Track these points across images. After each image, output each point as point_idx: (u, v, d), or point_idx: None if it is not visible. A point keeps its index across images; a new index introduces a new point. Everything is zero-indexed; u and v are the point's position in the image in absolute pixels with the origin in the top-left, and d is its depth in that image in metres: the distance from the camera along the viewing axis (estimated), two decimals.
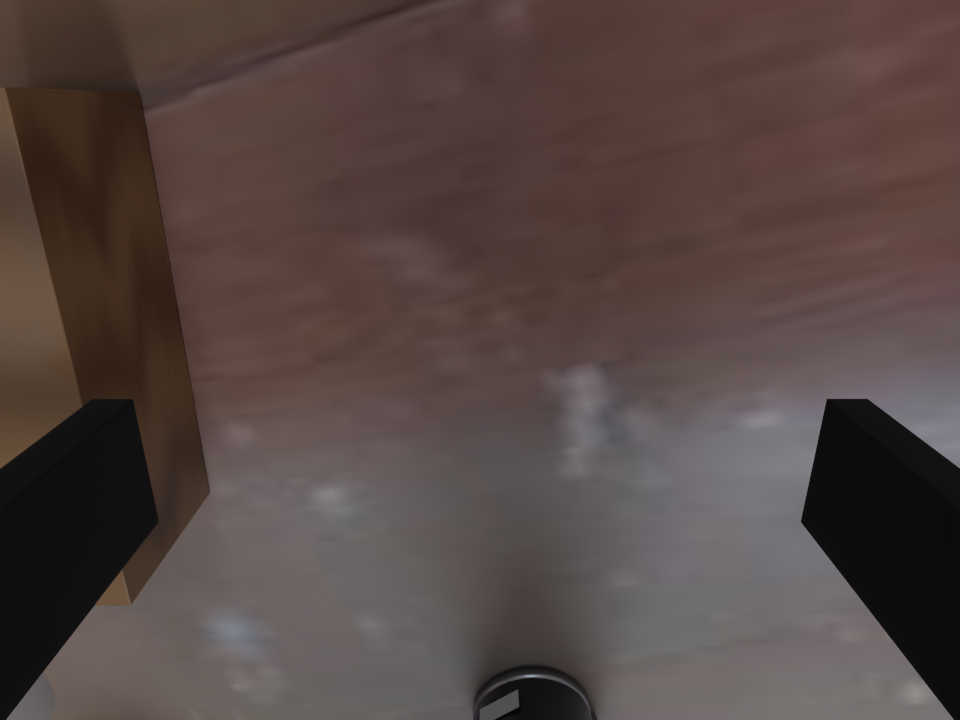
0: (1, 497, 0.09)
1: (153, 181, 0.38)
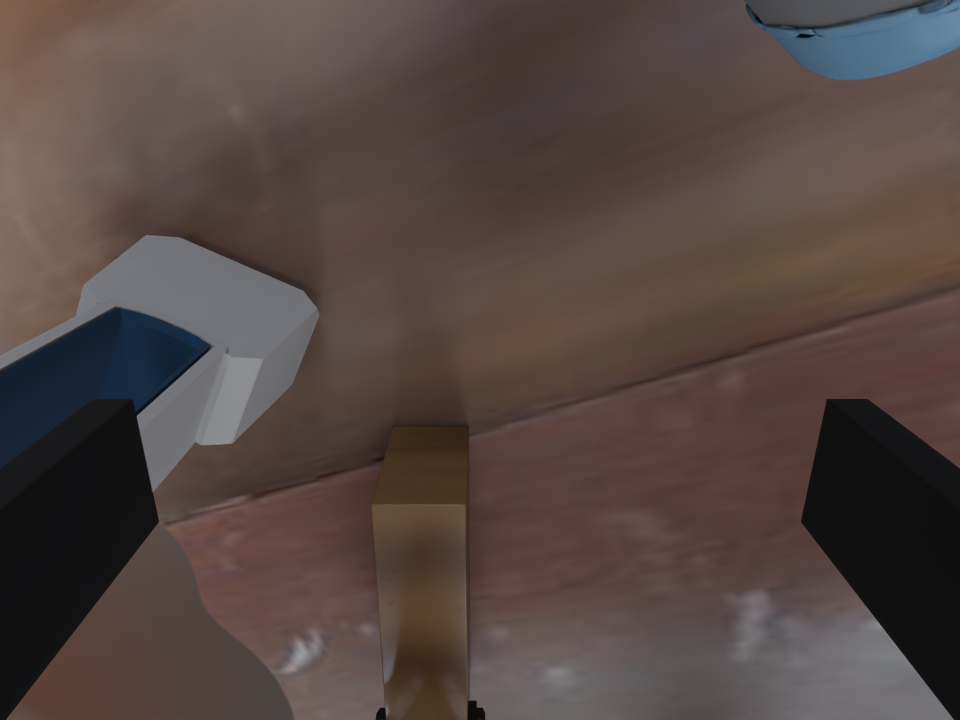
0: (1, 497, 0.09)
1: None
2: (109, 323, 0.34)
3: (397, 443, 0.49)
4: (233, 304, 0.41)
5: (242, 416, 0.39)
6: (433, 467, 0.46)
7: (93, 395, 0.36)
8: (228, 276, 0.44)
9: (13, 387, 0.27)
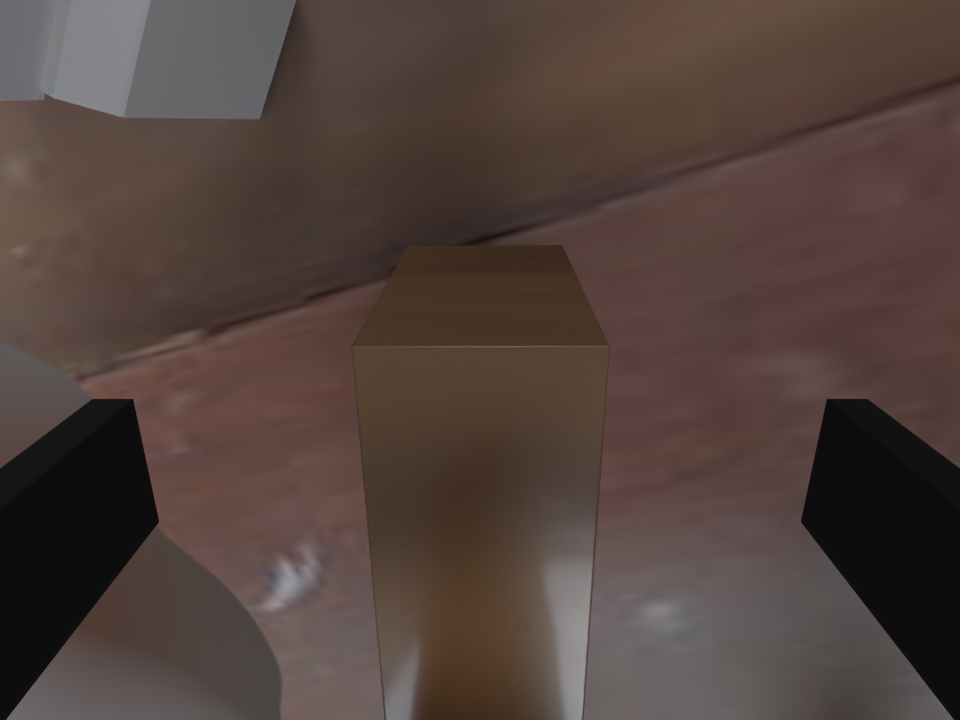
0: (1, 497, 0.09)
1: None
2: None
3: (418, 263, 0.23)
4: None
5: (140, 55, 0.20)
6: (503, 290, 0.20)
7: None
8: None
9: None
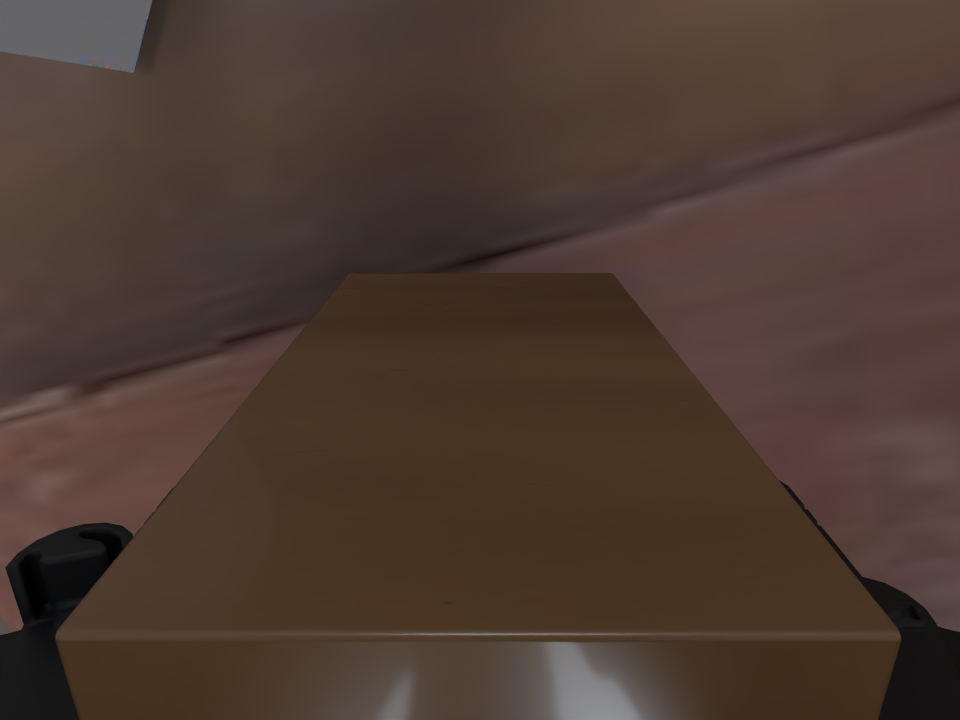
0: None
1: None
2: None
3: (356, 308, 0.12)
4: None
5: None
6: (524, 380, 0.09)
7: None
8: None
9: None
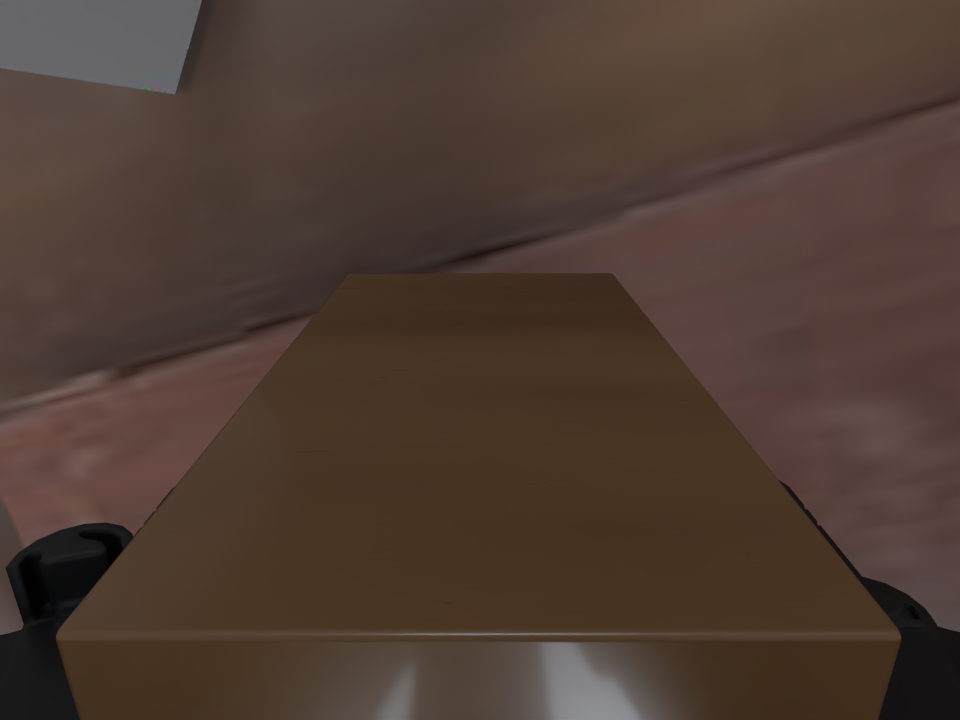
0: None
1: None
2: None
3: (356, 308, 0.12)
4: None
5: None
6: (524, 380, 0.09)
7: None
8: None
9: None
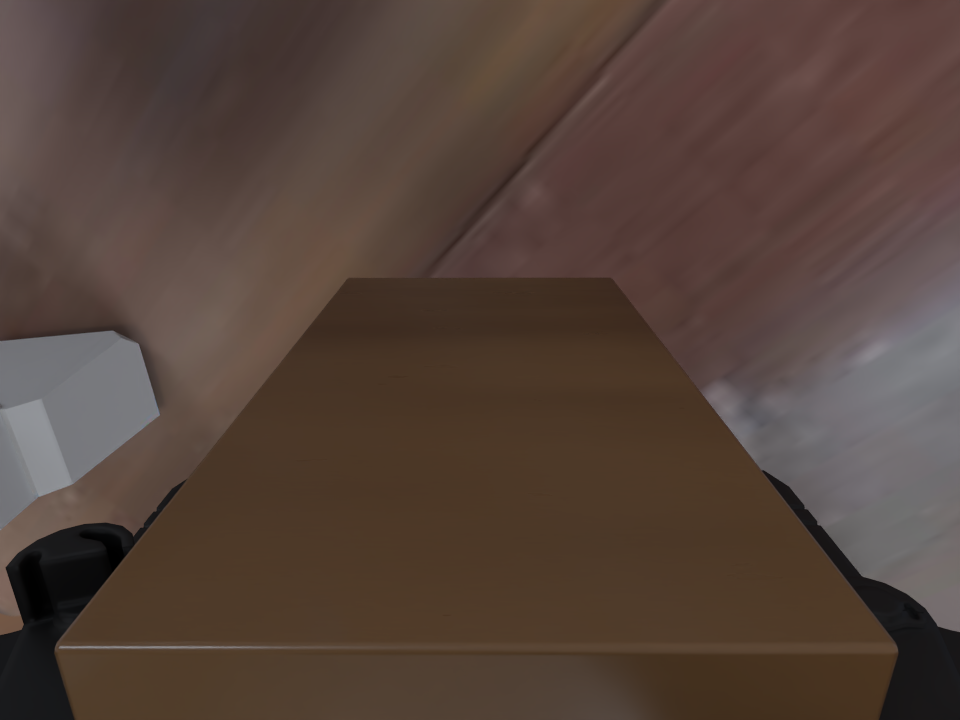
0: None
1: None
2: None
3: (356, 313, 0.12)
4: (28, 369, 0.44)
5: (64, 456, 0.42)
6: (524, 386, 0.09)
7: None
8: (34, 350, 0.47)
9: None
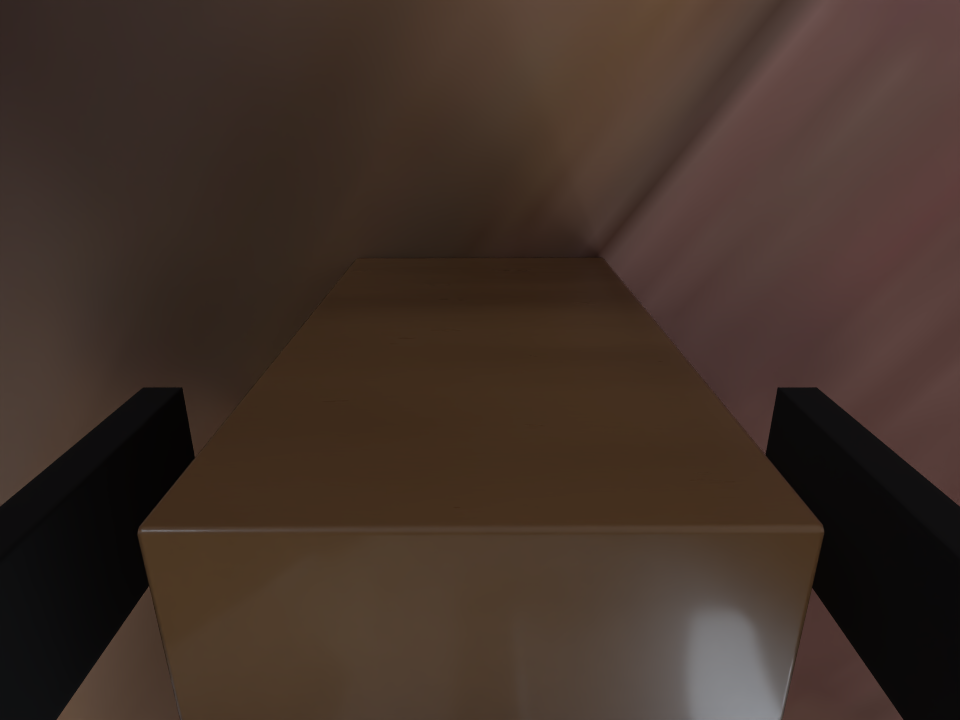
0: (73, 477, 0.09)
1: None
2: None
3: (366, 288, 0.13)
4: None
5: None
6: (520, 345, 0.10)
7: None
8: None
9: None
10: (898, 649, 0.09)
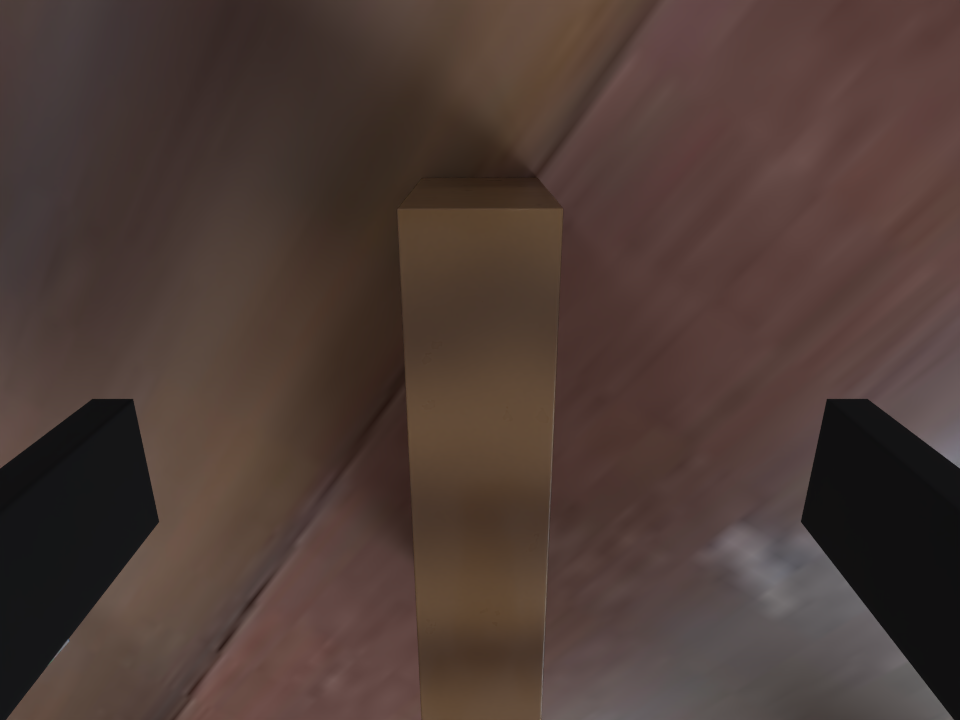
0: (1, 497, 0.09)
1: None
2: None
3: (431, 183, 0.31)
4: None
5: None
6: (494, 192, 0.28)
7: None
8: None
9: None
10: None
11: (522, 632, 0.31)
